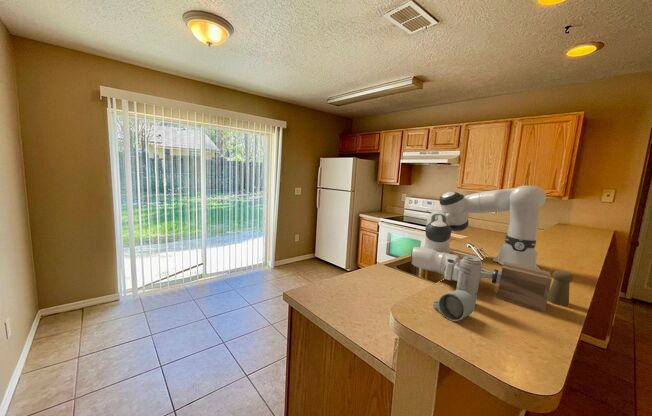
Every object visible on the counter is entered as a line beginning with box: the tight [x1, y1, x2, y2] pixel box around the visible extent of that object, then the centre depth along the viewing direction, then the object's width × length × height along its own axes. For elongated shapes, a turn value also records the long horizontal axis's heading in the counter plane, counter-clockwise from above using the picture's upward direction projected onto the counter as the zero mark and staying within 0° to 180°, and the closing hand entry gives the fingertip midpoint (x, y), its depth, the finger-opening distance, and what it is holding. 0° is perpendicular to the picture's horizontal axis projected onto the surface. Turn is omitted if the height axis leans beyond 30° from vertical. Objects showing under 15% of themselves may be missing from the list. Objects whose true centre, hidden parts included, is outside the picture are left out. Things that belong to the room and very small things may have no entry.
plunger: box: [491, 268, 502, 285], centre depth 93 cm, size 5×13×5 cm, turn 54°
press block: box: [496, 262, 553, 313], centre depth 92 cm, size 9×13×11 cm
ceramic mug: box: [432, 289, 476, 322], centre depth 79 cm, size 11×8×8 cm
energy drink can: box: [455, 255, 483, 304], centre depth 86 cm, size 6×6×15 cm
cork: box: [547, 269, 574, 307], centre depth 93 cm, size 6×6×11 cm
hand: (493, 276), depth 97 cm, fingers closed, pressing on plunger
